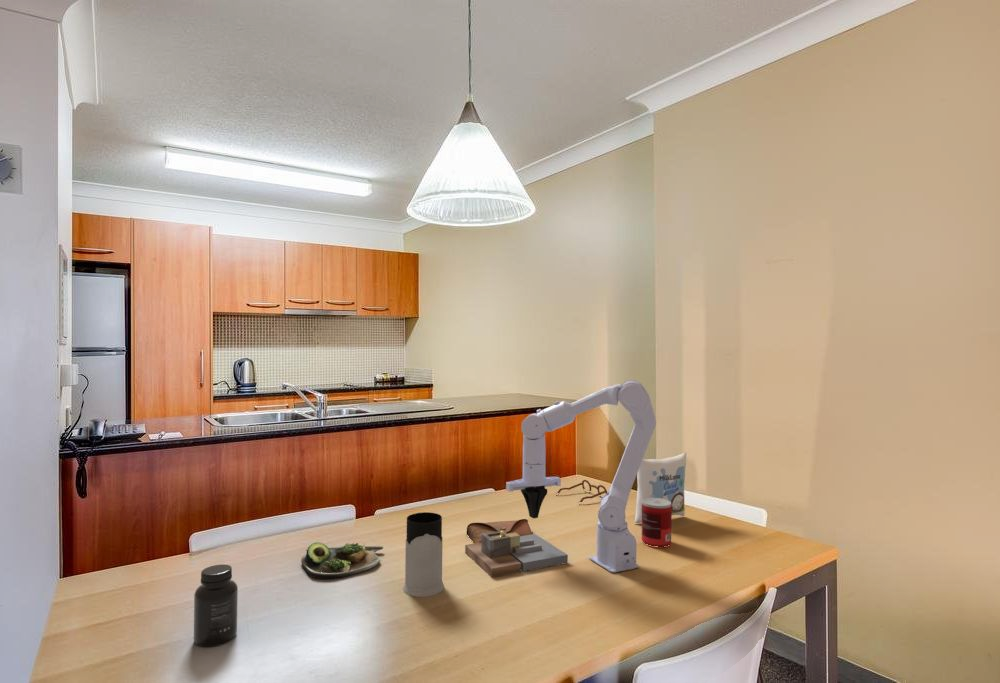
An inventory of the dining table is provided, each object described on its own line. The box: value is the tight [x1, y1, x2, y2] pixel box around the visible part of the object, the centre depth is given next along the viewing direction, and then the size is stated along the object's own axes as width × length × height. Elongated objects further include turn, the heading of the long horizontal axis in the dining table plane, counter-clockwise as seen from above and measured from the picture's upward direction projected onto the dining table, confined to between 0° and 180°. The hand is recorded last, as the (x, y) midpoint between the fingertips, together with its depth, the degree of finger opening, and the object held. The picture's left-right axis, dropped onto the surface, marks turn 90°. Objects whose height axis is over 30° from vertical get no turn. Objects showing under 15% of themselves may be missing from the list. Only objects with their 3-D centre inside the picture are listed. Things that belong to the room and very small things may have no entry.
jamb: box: [464, 531, 522, 578], centre depth 133 cm, size 16×7×6 cm, turn 25°
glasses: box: [556, 479, 608, 503], centre depth 190 cm, size 13×13×5 cm
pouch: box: [634, 451, 687, 524], centre depth 165 cm, size 8×19×20 cm, turn 112°
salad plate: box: [300, 541, 384, 580], centre depth 132 cm, size 19×18×5 cm
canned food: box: [641, 498, 673, 547], centre depth 147 cm, size 8×8×11 cm
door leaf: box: [510, 533, 569, 572], centre depth 137 cm, size 16×12×3 cm
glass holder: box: [402, 511, 445, 598], centre depth 121 cm, size 9×14×15 cm, turn 15°
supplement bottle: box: [193, 563, 239, 648], centre depth 98 cm, size 7×7×12 cm
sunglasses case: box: [466, 518, 533, 544], centre depth 151 cm, size 18×7×7 cm, turn 107°
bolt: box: [490, 530, 520, 552], centre depth 134 cm, size 2×7×5 cm, turn 115°
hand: (533, 517), depth 138 cm, fingers closed
